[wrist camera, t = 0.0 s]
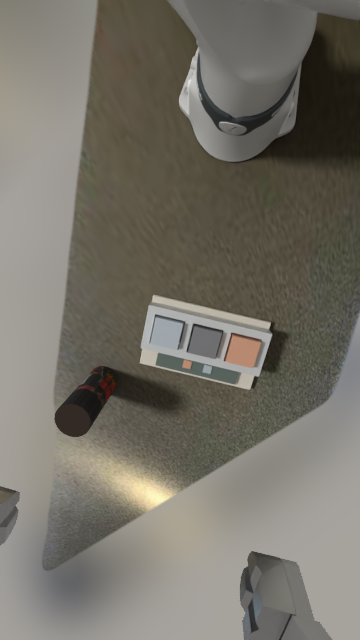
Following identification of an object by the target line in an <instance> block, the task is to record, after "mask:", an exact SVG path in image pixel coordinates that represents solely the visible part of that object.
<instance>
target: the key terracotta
mask: <svg viewBox="0 0 360 640" xmlns="http://www.w3.org/2000/svg"><path fill="white" fill-rule="evenodd" d="M260 345H261V341H260V340H259V339H257V338H253V337H249V336H245V335H240V334H236V333H232V334H231V338H230V341H229V345H228V348H227V352H226V356H225V360H226V362H228V363H232V364H237V365H241V366H245V367H249V368H254V364H255V361H256V358H257V355H258V351H259V348H260Z"/></svg>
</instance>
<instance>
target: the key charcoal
mask: <svg viewBox="0 0 360 640" xmlns="http://www.w3.org/2000/svg"><path fill="white" fill-rule="evenodd" d="M221 335H222V330H219V329H215V328H211V327H207V326H203V325H198V324H194V328H193V332H192V336H191V341H190V345H189V349H188V353H191V354H195V355H199V356H203V357H208V358H212V359H215V357H216V354H217V350H218V346H219V343H220V339H221Z"/></svg>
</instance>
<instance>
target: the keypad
mask: <svg viewBox="0 0 360 640" xmlns="http://www.w3.org/2000/svg"><path fill="white" fill-rule="evenodd" d="M157 315H161V316H165V317H169V318H173V319H177V320H182V321H184V323H183V328H182V332H181V336H180V340H179V345H178V348H177V350H174V349H170V348H166V347H162V346H158V345H154V344H150V342H151V337H152V332H153V327H154V322H155V318H156V316H157ZM194 324H198V325H203V326H207V327H211V328H215V329H219V330H222V335H221V339H220V343H219V346H218V350H217V354H216V357H215V359H212V358H208V357H203V356H199V355H195V354H191V353H188V349H189V345H190V341H191V336H192V332H193V328H194ZM270 325H271V322H269V321H265V320H261V319H257V318H253V317H248V316H244V315H240V314H236V313H231V312H227V311H223V310H219V309H215V308H210V307H206V306H202V305H198V304H193V303H189V302H185V301H181V300H177V299H172V298H168V297H164V296H160V295H155V294H154V295H153V299H152V302H151V303H150V304H149V308H148V313H147V318H146V323H145V328H144V333H143V338H142V343H141V348H142V354H141V359H140V363H142V364H146V365H150V366H154V367H158V368H162V369H166V370H170V371H175V372H179V373H183V374H187V375H191V376H195V377H199V378H203V379H207V380H212V381H216V382H220V383H224V384H228V385H232V386H236V387H240V388H244V389H249V390H250V388H251V385H252V382H253V379H254V376H257V377H259V375H260V372H261V369H262V365H263V362H264V359H265V356H266V353H267V350H268V347H269V344H270V340H271V337H272V333H271V332H270V330H269V328H270ZM232 333H236V334H240V335H245V336H249V337H253V338H257V339H259V340H260V341H261V345H260V348H259V351H258V355H257V358H256V361H255V364H254V368H249V367H245V366H241V365H237V364H232V363H228V362H226V360H225V356H226V352H227V348H228V345H229V341H230V338H231V334H232Z"/></svg>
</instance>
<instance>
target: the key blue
mask: <svg viewBox="0 0 360 640" xmlns="http://www.w3.org/2000/svg"><path fill="white" fill-rule="evenodd" d="M183 323H184V321H182V320H177V319H173V318H169V317H165V316H161V315H157V316H156V318H155V322H154V327H153V332H152V337H151V342H150V344H154V345H158V346H162V347H166V348H170V349H174V350H177V348H178V345H179V340H180V336H181V332H182V328H183Z"/></svg>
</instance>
